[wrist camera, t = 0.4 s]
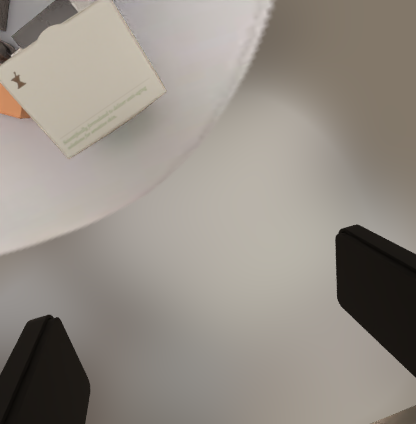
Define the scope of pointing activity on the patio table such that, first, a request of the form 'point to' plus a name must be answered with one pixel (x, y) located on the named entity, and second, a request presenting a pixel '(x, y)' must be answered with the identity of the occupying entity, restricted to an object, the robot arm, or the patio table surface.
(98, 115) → the skincare box
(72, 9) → the tongs arm
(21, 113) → the collar
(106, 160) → the patio table surface
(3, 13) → the tongs fixed
